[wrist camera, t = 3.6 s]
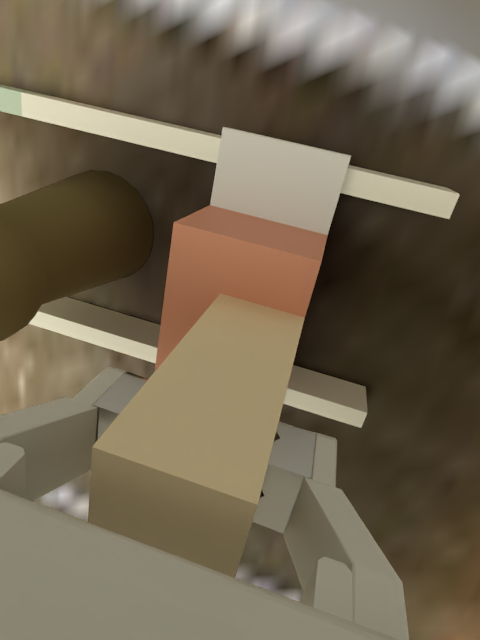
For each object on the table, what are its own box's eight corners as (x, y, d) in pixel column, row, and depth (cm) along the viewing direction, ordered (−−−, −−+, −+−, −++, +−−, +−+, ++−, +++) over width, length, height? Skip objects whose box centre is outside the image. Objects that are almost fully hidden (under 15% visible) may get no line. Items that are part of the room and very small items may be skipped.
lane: (446, 187, 18) (485, 207, 13) (360, 400, 24) (363, 477, 18) (-126, 55, 22) (-274, 29, 17) (-92, 262, 28) (-197, 292, 22)
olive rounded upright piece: (171, 209, 22) (27, 266, 12) (129, 297, 25) (-16, 401, 15) (74, 147, 22) (-149, 154, 12) (43, 242, 25) (-159, 311, 15)
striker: (350, 153, 18) (353, 197, 5) (280, 389, 24) (188, 725, 10) (243, 128, 19) (-35, 104, 5) (200, 364, 25) (11, 648, 11)
